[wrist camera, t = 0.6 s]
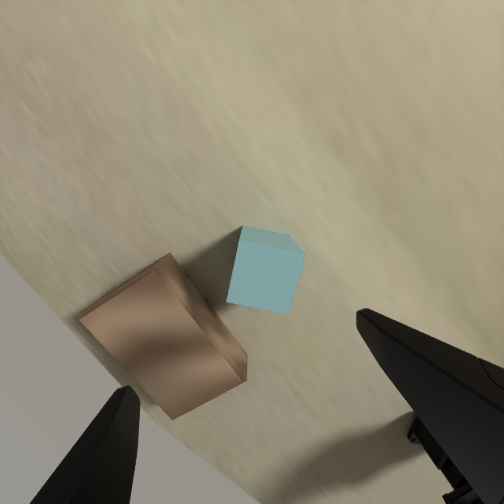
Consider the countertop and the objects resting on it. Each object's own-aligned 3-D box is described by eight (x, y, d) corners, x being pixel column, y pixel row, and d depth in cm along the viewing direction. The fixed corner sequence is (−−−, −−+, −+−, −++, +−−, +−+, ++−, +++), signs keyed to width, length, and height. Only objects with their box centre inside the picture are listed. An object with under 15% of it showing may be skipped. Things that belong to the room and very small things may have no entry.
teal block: (289, 235, 22) (305, 254, 16) (278, 279, 24) (288, 314, 17) (243, 225, 22) (239, 240, 15) (233, 269, 23) (226, 302, 17)
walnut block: (247, 355, 26) (246, 383, 22) (182, 390, 27) (171, 424, 23) (170, 252, 23) (153, 265, 19) (101, 298, 24) (72, 318, 20)
